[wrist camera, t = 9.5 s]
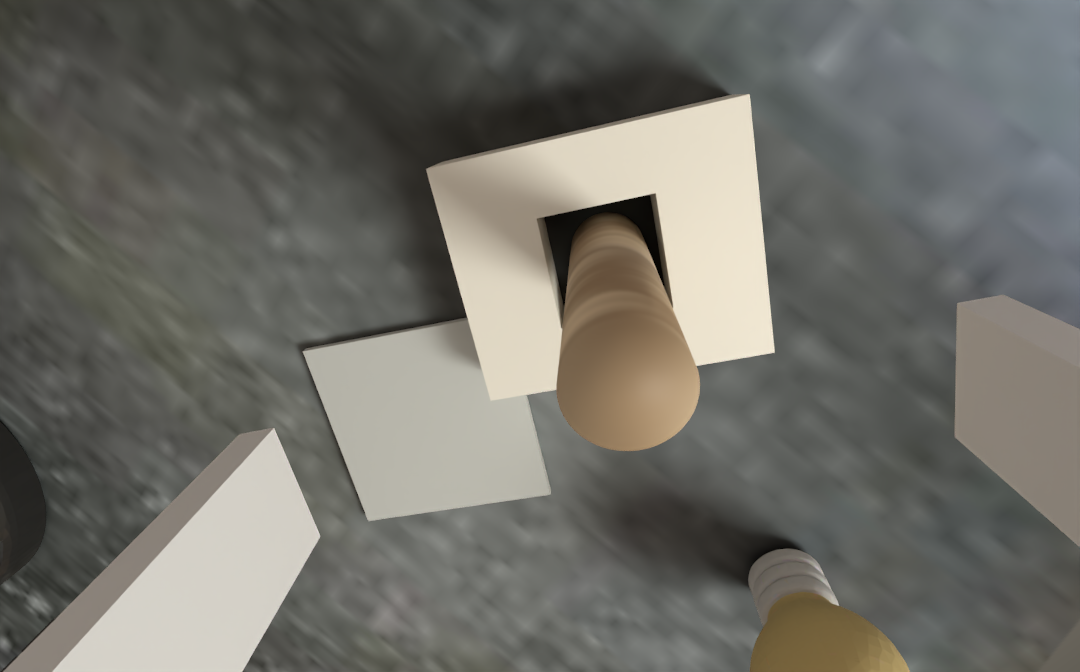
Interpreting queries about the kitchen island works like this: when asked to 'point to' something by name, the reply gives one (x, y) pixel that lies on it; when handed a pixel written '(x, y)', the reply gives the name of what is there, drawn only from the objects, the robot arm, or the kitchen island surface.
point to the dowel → (621, 342)
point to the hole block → (595, 179)
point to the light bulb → (811, 622)
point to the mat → (425, 422)
